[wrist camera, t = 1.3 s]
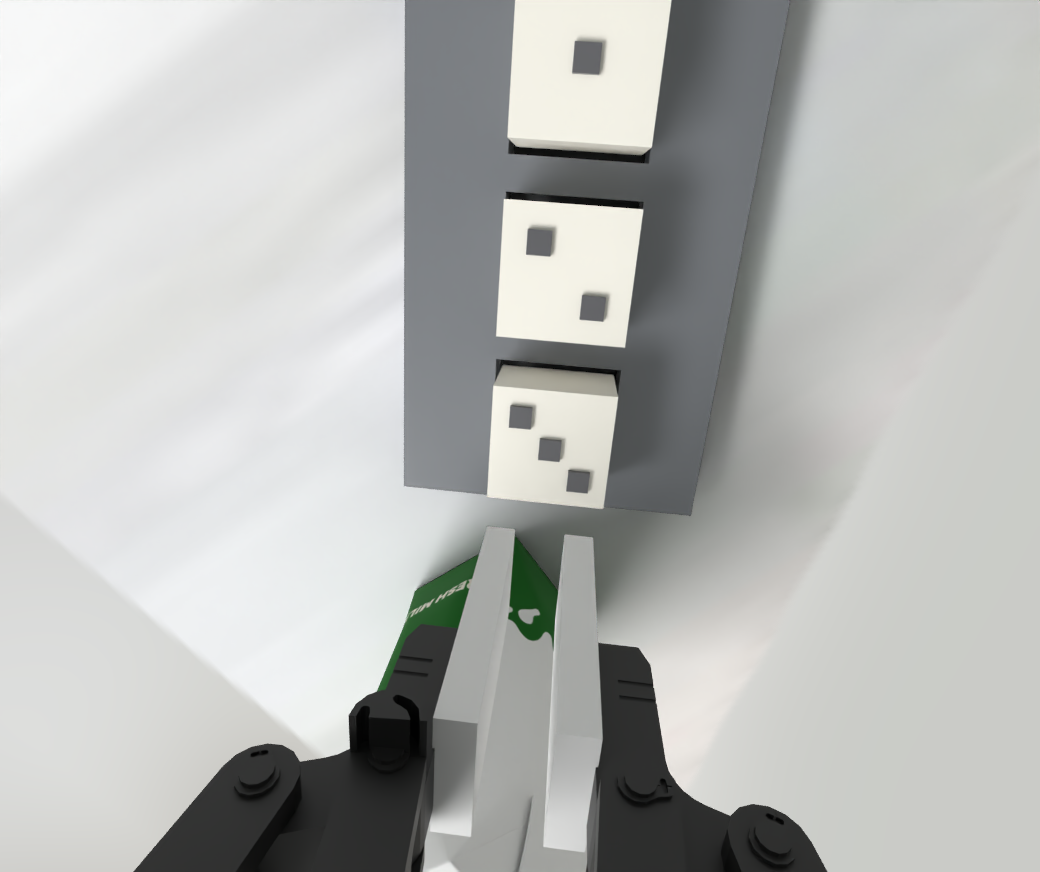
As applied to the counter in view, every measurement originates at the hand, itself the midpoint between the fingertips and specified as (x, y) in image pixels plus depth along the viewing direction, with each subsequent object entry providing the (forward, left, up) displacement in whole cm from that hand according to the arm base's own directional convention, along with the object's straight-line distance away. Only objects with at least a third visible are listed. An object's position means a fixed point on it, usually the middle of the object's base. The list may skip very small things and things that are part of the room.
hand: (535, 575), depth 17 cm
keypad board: (-7, 0, -14) cm, 16 cm away
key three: (0, 0, -13) cm, 13 cm away
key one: (-14, 0, -13) cm, 19 cm away
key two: (-7, 0, -13) cm, 15 cm away
